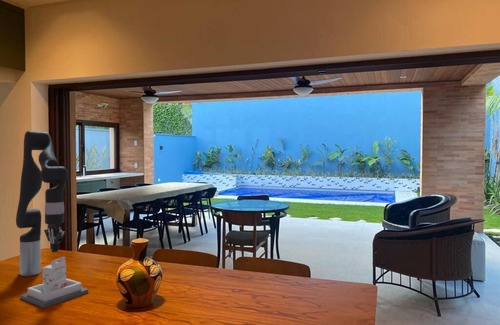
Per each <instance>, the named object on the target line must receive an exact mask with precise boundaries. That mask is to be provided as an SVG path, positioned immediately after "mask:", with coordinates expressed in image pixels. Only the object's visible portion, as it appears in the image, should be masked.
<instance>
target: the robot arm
mask: <svg viewBox="0 0 500 325" xmlns="http://www.w3.org/2000/svg"><path fill="white" fill-rule="evenodd" d="M23 136H24V137H23V159H22V169H21V175H20V188H19V198H18V199H19V200H18V204H17V211H16V216H15V225H16V227H17V228H19V229H29V228H31V229H30V230H28V231H27V232H25V233H23V234H21V235H20V236H19V276H22V277H29V276H31V277H32V276H36V275H39V274H40V273H41V272H42V271H41V270H42V268H41V258H42V257H41V236H42V232H41V231H42V212H41V211H40V209H38V208H32V209H30V208H29V209H28V206H29V205H30V203H31V201H32V200H33V199H34V198H35V197H36V195H38V194H39V192H40V190H41V189H42V186H43V185H42V184H43V183H46V184H54V183H55V184H57V185H56V186H54V187H50V188H47V189H45V195H44V196H45V198H44V199H45V203H44V224H46V225H47V226H46V227H47V228H46V229H44V231H43V232H44V234H45V236H46V238H47V241H48V242H49V243H50V244H51V245H50V246H51V252H52V253H58V252H59V243H62V241H63V239H65V238H64V237H65V235H66V231H63V225H62V224H63V223H65V204H64V200H65V199H64V192H65V186H66V183H67V180H68V177H69V170H68V169H67V168H66V167H65V166H60V164H59V161H58V160H57V158H56V156H55V152H54V147H53V146H54V145H53V142H52V137H51V135H50V133H48V132H47V131H38V130H37V131H36V130H27V131H26V132H25V133H24V135H23ZM33 151H41V152H40V153H39V155H38V163H39V165H40V167H41V169H40V168H39V166H38V165H37V162H35V159H34V157H33Z"/></svg>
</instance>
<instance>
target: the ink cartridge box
mask: <svg viewBox="0 0 500 325" xmlns="http://www.w3.org/2000/svg"><path fill="white" fill-rule="evenodd" d="M66 278H67V262H66V256H61V257H59V258H56V259H54V260H51V264H49V265H46V266H43V267H42V284H43V292H45V293H47V292H51V291H54V290H57V289H60V288H64V287H66Z"/></svg>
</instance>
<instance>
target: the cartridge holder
mask: <svg viewBox="0 0 500 325" xmlns="http://www.w3.org/2000/svg"><path fill="white" fill-rule="evenodd" d="M85 294H89V289H88V288H86V287H83V285H82V282H80V281H76V280H73V279H70V278H67V277H66V287H64V288H60V289H57V290H54V291H51V292H47V293H45V292H43V283H41V284H40V283H39V284H37V285H34V286H30V287H27V293H23V294H20V299H21V300H22V301H25V302H26V303H27V302H28V303H30V304H33V305H35V306H37V307H40V308H43V309H44V308H47V307H50V306H55V305H57V304H59V303H62V302H65V301H68V300H71V299H75V298H77V297H80V296H82V295H85Z"/></svg>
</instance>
